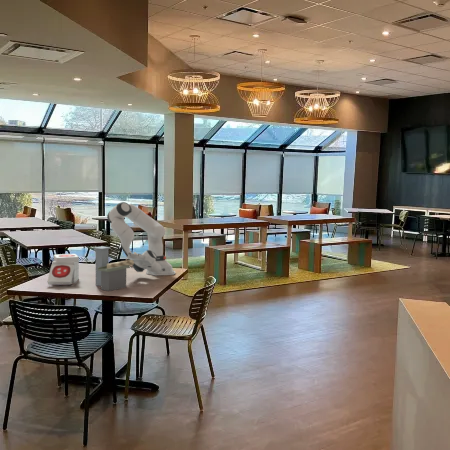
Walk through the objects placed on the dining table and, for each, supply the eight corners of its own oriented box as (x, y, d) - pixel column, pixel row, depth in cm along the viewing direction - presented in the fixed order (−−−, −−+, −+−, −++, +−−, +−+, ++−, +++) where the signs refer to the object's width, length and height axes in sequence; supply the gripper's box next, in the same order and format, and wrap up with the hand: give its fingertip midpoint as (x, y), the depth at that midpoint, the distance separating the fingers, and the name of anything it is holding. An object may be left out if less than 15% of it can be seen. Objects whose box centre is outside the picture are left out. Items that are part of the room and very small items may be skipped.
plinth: (102, 283, 349) (102, 246, 346) (110, 284, 344) (110, 247, 342) (93, 285, 342) (93, 247, 340) (101, 286, 338) (101, 248, 335)
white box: (44, 287, 332) (44, 260, 331) (55, 278, 362) (55, 253, 361) (73, 287, 334) (73, 260, 332) (82, 278, 364) (82, 253, 362)
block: (130, 264, 348) (130, 259, 348) (133, 264, 346) (133, 260, 346) (106, 268, 330) (106, 263, 329) (110, 268, 328) (110, 264, 328)
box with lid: (119, 284, 345) (119, 263, 344) (129, 286, 340) (129, 264, 339) (97, 289, 328) (97, 267, 327) (107, 291, 323) (107, 269, 322)
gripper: (136, 256, 365) (124, 248, 355) (157, 259, 354) (146, 251, 343) (133, 264, 363) (121, 256, 352) (154, 267, 352) (142, 259, 341)
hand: (133, 254), depth 348 cm, fingers open, 8 cm apart
